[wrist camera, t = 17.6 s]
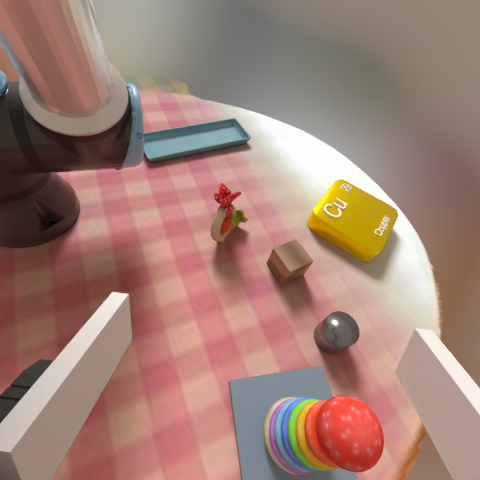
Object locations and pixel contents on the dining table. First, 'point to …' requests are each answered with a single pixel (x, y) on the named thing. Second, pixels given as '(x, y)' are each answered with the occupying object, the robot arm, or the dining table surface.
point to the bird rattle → (225, 214)
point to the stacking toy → (323, 435)
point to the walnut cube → (289, 261)
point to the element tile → (353, 220)
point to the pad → (254, 413)
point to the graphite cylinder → (336, 332)
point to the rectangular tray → (193, 139)
